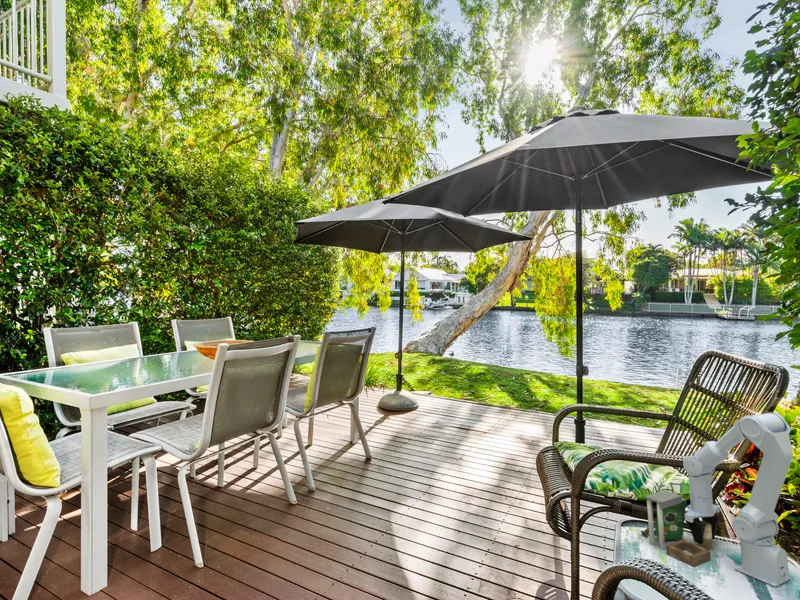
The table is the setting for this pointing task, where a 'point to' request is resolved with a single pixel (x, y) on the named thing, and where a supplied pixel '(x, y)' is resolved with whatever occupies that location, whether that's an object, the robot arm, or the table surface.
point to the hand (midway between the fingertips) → (704, 540)
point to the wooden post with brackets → (648, 530)
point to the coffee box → (672, 521)
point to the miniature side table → (660, 512)
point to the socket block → (694, 560)
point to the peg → (707, 537)
